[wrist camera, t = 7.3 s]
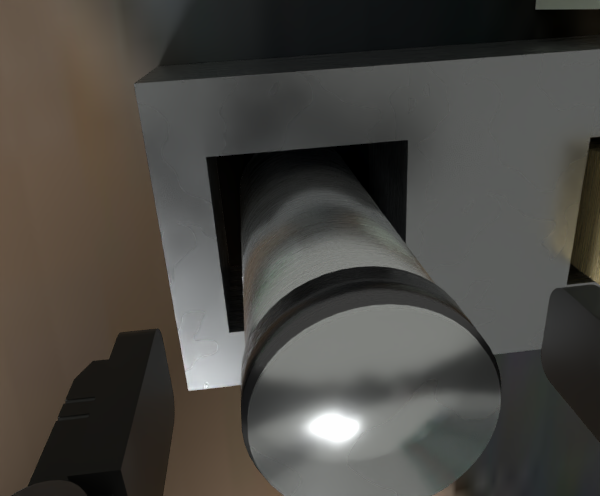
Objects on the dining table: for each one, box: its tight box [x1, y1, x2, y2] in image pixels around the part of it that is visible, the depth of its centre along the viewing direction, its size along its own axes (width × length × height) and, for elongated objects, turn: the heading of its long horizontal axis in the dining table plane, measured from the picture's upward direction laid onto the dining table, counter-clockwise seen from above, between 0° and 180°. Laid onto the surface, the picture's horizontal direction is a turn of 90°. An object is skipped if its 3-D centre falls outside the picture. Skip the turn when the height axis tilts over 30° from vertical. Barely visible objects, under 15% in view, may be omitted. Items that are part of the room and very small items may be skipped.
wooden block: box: [570, 137, 600, 285], centre depth 18 cm, size 1×4×6 cm, turn 4°
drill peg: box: [239, 147, 501, 496], centre depth 15 cm, size 5×5×13 cm
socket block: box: [134, 35, 600, 391], centre depth 19 cm, size 18×10×5 cm, turn 93°
